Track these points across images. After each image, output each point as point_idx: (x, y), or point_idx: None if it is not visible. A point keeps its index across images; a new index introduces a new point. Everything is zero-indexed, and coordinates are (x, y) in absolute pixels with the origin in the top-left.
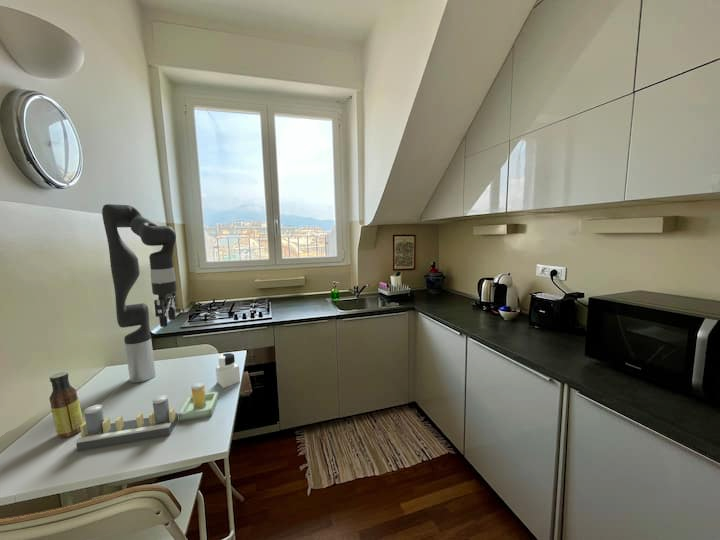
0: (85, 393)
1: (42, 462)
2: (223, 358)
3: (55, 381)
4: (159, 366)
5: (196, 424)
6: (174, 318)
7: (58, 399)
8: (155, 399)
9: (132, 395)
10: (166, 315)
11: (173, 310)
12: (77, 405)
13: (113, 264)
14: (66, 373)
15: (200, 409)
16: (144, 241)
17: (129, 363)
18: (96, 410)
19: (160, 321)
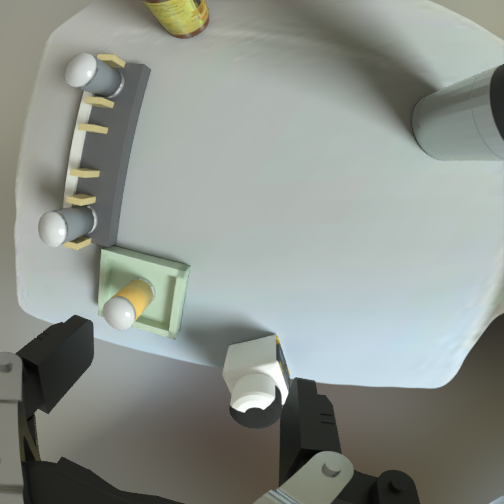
0: (402, 6)
1: (102, 27)
2: (234, 404)
3: None
4: (493, 171)
5: (87, 279)
6: (282, 417)
7: None
8: (50, 218)
9: (327, 106)
10: (33, 415)
11: (280, 483)
12: (160, 10)
13: None
14: None
15: (103, 295)
16: None
17: (452, 86)
18: (67, 82)
19: (33, 341)
